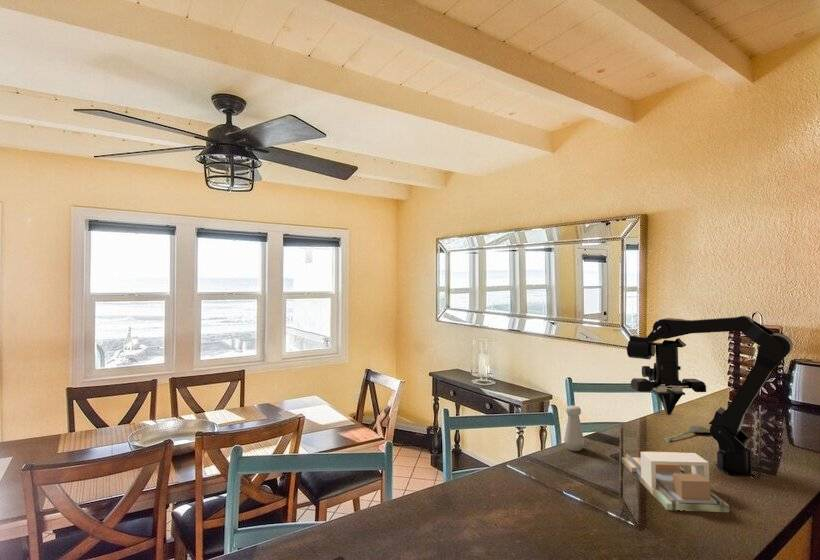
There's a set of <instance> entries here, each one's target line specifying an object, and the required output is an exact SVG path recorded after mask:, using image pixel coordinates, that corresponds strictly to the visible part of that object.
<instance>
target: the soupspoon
mask: <svg viewBox="0 0 820 560" xmlns="http://www.w3.org/2000/svg"><path fill="white" fill-rule="evenodd" d="M688 428H689V430H687V431H684V432H681V433H679V434H676V435H673V436H669V437H664V441H665V442H667V441H668V442H667V443H670V442H671V441H672V440H674V439H675V438H678V437H681V436H684V435H687V434H692V433H693V434H694V433H708V434H709V433H710V428H708V427H705V426H703V425H697V424H696V425H691V426H689V427H688ZM710 434H711V433H710Z"/></svg>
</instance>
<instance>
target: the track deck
mask: <svg viewBox="0 0 820 560" xmlns="http://www.w3.org/2000/svg"><path fill="white" fill-rule="evenodd" d="M621 463H622V465H624V466H625V468H627V470H628V471H629V472H630V473H631V474H632V475H633V476H634V477H635V478H636V479H637V480H638V482H640V484H642V485H643V487H644V488H645V489H646V490H647V491H648V492H649V493H650V494H651V495H652V496H653V497H654V499H656V500H657V501H658V502H659V504H660V505H661V506H663V508H664V509H665V510H666V511H677V510H680V511H681V512H685V511H686V512H709V513H710V512H712V513H730V505H729V503H727V502H726V501H725V500H723V499H722V498H720V497H719V496H718V495H717V494H715V493H714V492H713V491H712V490H711V489H710V496H711V497H712V498H713V499H715V500H716V501H717V504H706V503H678V502H677V501H676V500H675V499H674V498H673V497H672V496H671V495H670V494H669V493H668V492H667V491H666V490H665V489H664V488H663V487H662V486H661V485H660V484H659V483H658V482H657V481H656V488H651V487H650V486H649V485H648V484H647V483H646V482H645V480H644V479H643V478H642V477H641V457H632V456H631V455H630V454H625V456H624V457H623V456H622V457H621ZM680 471H681V472H682V473H683V474H690V473H689V472H687V471H686V470H685V469H684V468H683V467H682V465H680ZM683 510H685V511H683Z"/></svg>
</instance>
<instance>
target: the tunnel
mask: <svg viewBox="0 0 820 560" xmlns="http://www.w3.org/2000/svg"><path fill="white" fill-rule="evenodd" d="M676 452H677V451H648V452H644V451H640V458H641V477H642V478H643V479H644V480H645V482H646V483H647V484H648V485H649V486H650V487H651V488H656V465H680V466H690V470H691V471H690V474H701V475H702V476H703V477H704V478H706V479H707V480H708V481H710V463H709V461H708V460H706V459H705V458H703V457H702V456H700V455H699V454H697V453H696V452H677V453H676Z"/></svg>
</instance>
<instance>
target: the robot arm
mask: <svg viewBox="0 0 820 560" xmlns="http://www.w3.org/2000/svg"><path fill="white" fill-rule="evenodd" d="M723 332H725V333H726V332H740V333H742V334H743V335H744V336H746V337H747V338H749V340H751V341H752V342H753V343H754V344H756V345H757V346H758V347H759V348H758V351H757V354H756V359H755V362H754V364H753V366H752V368H751V369H750V371H749V373H748V375H747V377H746V378H745V380H744V381H743V382H742V384H741V386H740V388H739V389H738V391H737V393H736V394H735V396H734V398H733V399H732V401H731V402H730V403H729V406H728V407H727V408H726V409H724V408H723V407H722V406H720V407H718V409H717V410H716V411H715V413H714V416H713V418H712V419H711V420H710V421H709V422H708V425H710V426H709V430H710V435H711V437H712V438H713V439H714V440H715V441H717V444H718V450H717V451H716V457H717V459H716V463H715V467H717V468H719V470H721V471H723V473H725V474H727V475H729V476H742V477H745V476H746V477H747V476H748V477H755V476H756V473H754V472H753V471H752V456H751V455H752V452H751V451H752V450H751V449H750V448H748V446H749V444H750V441H751V438H750V437H749V436H748V435H747V434H746V433H745V432H744V431H743V430H742V427H743V423H744V419H745V415H746V413H747V411H748V410H749V408H750V407H751V405H752V404H753V401H754V400H755V398H756V397H757V395H758V394H759V392H760V391H761V389H762V387H763V386H764V384H765V383H766V381H767V379H768V378H769V376H770V374H771V373H772V371H773V370H774V369H775V368H776V367H777V366H778V365H779V364H780V363H781V362H782V361H783V360H784V359H785V358H786V356H788V355H789V354H790V353H791V352H792V350H793V348H794V343H793V341H792V339H791V338H790V337H789V336H787V335H786V334H783V333H781V332H780V333H779V332H777V333H776V332H774V331H773V330H771V329H769V328H768V327H766V326H764V325H763V324H761V323H759V322H758V321H755V320H754V319H753V318H752V317H750V316H748V315H740V316H734V317H720V318H719V317H718V318H705V319H704V318H703V319H693V320H692V319H683V318H674V317H673V318H671V317H666V318H661V319H657V320H656V321H655V322H654V323H653V325H652V330H651V331H650V332H649V334H648V335H647V336H637V335H630V336H629V340H628V343H627V346H626V353H627V357H628V358H630V359H642V360H651V359H652V357H655V362H654V363H653V367H652V368H651V367H650V365H643V366H641V376H642V377H643V378H632V379H631V381H630V388H631V389H633V390H635V391H637V392H642V393H646V392H647V393H649V392H651V391H652V392H653V393H655V394H656V395H657V397H658V398H659V400H660V402H661V405H662V408H663V409H664V412H665V414H666V415H667V416H671V415H672V413H673V411H674V409H675V408H676V405H677V403H678V402H679V401H680V400H681V398H682V396H686V393H685V392H684V391H683V389H691V390H693V391H694V392H695V393H707V385H706V383H705V382H704V381H702V380H699V379H697V378H682V380H681V379H680V376H679V375H680V374H679V373H680V371H682V368H681V366H680V365H679V348H684V347H686V346H687V344H686V343H685V342H684V341H683V340H682V339H681V338H679V337H680V336H685V335H690V334H691V335H692V334H709V333H723ZM675 337H676V339H674V340H668V339H671V338H675ZM677 337H678V338H677ZM660 340H662V342H657V341H660ZM646 378H648V379H646Z"/></svg>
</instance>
